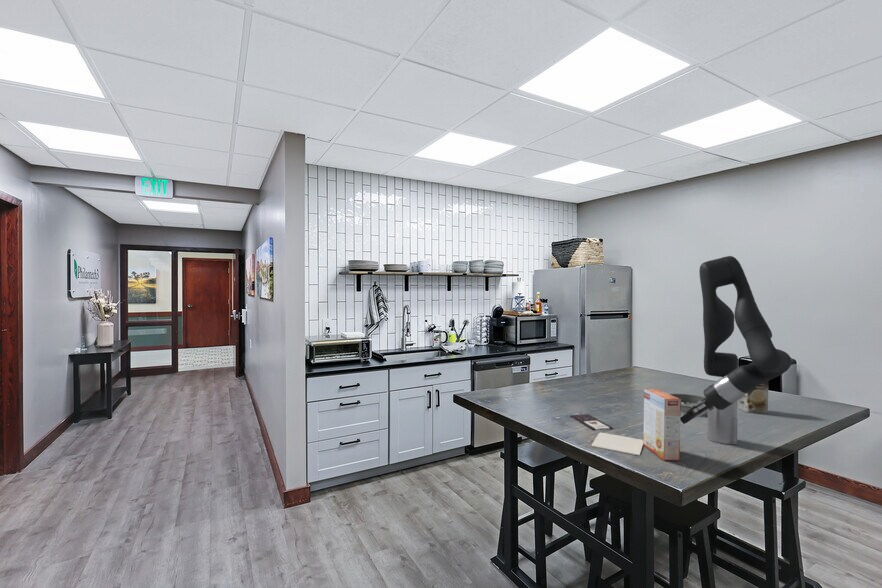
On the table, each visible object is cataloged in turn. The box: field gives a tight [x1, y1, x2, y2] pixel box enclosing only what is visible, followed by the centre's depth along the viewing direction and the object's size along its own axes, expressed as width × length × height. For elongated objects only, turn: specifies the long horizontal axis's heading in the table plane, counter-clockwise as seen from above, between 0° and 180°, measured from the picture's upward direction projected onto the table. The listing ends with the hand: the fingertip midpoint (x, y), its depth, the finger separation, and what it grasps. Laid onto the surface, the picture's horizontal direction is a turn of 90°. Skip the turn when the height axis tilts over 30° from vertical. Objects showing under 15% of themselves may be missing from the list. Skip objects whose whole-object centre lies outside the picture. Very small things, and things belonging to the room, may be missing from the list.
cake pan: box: [669, 393, 708, 416], centre depth 199 cm, size 25×25×4 cm
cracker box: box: [642, 388, 682, 461], centre depth 145 cm, size 14×6×21 cm, turn 0°
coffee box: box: [738, 380, 770, 414], centre depth 195 cm, size 9×6×16 cm
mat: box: [590, 431, 644, 457], centre depth 154 cm, size 16×16×1 cm
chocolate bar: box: [569, 413, 613, 431], centre depth 178 cm, size 9×1×18 cm
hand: (682, 420), depth 140 cm, fingers closed
